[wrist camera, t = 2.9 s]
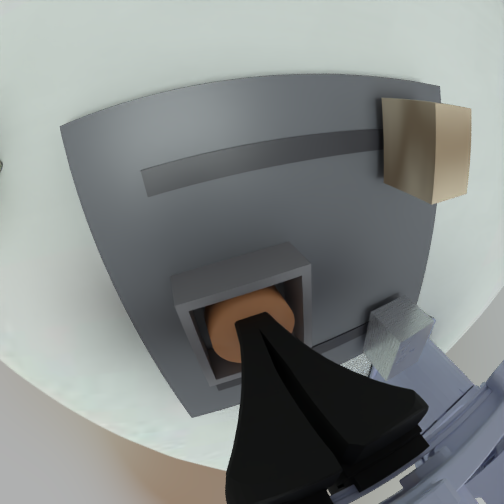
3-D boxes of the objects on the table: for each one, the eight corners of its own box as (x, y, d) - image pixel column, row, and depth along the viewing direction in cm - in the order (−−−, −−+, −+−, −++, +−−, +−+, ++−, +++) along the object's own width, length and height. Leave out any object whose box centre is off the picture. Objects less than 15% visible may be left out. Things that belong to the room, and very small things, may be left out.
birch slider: (422, 175, 12) (466, 193, 10) (383, 182, 12) (431, 204, 9) (422, 100, 10) (471, 108, 8) (381, 97, 10) (435, 102, 7)
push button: (282, 324, 14) (296, 346, 13) (214, 347, 13) (222, 372, 12) (276, 266, 12) (292, 286, 11) (194, 290, 11) (201, 315, 10)
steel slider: (393, 335, 19) (417, 361, 16) (362, 352, 18) (386, 381, 15) (404, 294, 16) (434, 321, 14) (370, 311, 16) (400, 342, 13)
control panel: (398, 316, 21) (424, 341, 18) (187, 400, 18) (197, 442, 15) (420, 84, 12) (467, 89, 9) (71, 124, 8) (38, 130, 5)
